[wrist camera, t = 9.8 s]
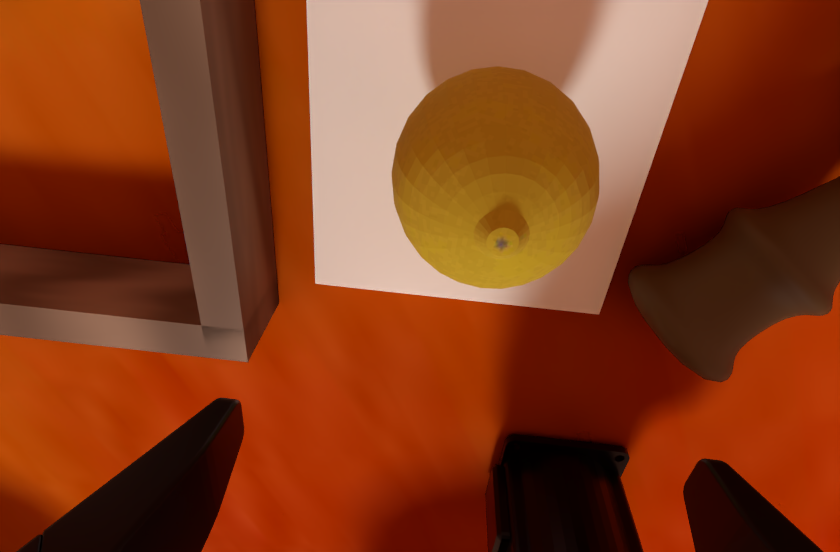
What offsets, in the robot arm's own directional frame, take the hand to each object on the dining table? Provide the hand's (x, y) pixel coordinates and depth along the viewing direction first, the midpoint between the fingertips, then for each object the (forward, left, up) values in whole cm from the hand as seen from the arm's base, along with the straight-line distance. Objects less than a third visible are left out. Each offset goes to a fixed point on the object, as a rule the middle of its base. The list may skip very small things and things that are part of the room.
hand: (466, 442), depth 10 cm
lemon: (0, -3, -11) cm, 11 cm away
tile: (0, -3, -12) cm, 12 cm away
